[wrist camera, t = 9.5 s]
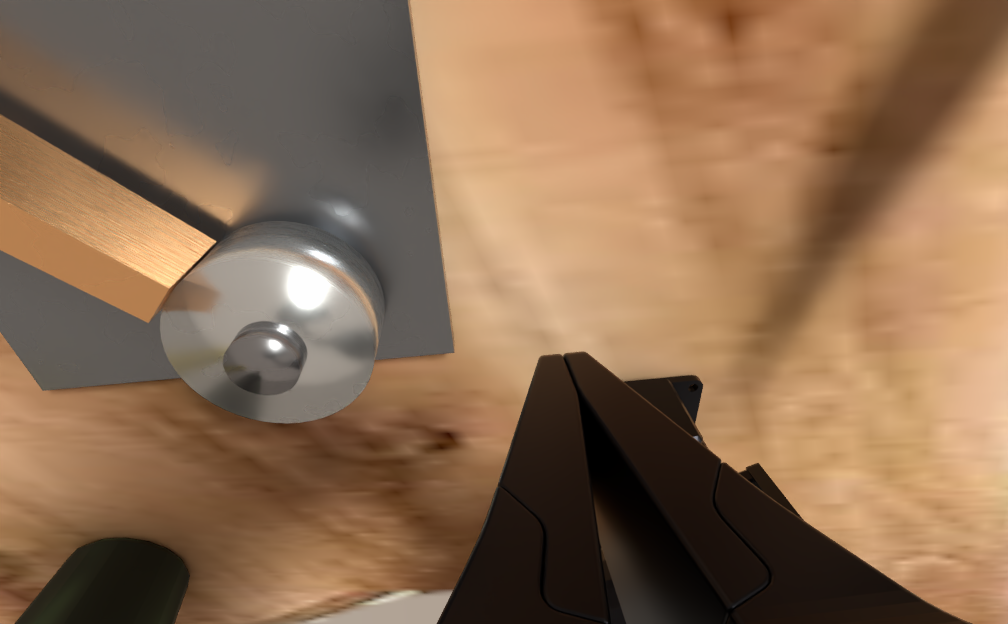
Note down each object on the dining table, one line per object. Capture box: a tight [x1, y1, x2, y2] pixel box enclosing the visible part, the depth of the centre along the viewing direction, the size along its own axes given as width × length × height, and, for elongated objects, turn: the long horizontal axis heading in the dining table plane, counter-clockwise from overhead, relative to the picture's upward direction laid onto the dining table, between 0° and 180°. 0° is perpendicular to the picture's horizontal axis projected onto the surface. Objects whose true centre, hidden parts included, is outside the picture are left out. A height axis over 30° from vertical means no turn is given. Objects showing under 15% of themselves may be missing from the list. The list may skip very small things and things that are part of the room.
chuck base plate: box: [0, 0, 454, 391], centre depth 17 cm, size 21×18×1 cm
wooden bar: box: [0, 114, 385, 423], centre depth 16 cm, size 20×7×4 cm, turn 49°
